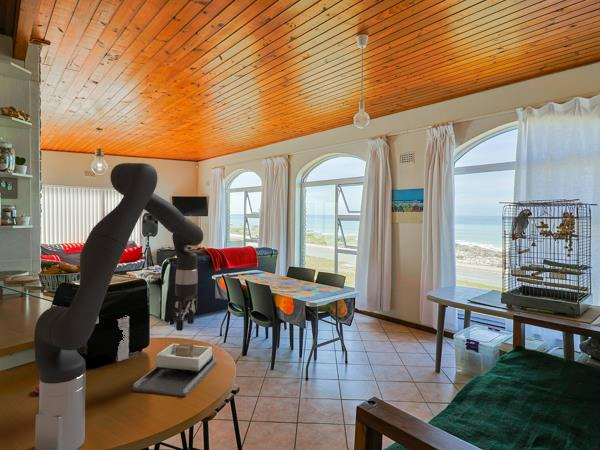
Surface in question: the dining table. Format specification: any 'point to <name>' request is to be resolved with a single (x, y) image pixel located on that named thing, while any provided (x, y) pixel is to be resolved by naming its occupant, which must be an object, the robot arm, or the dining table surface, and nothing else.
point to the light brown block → (184, 350)
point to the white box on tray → (184, 358)
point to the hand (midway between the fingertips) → (185, 326)
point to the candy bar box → (124, 345)
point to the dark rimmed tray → (172, 380)
